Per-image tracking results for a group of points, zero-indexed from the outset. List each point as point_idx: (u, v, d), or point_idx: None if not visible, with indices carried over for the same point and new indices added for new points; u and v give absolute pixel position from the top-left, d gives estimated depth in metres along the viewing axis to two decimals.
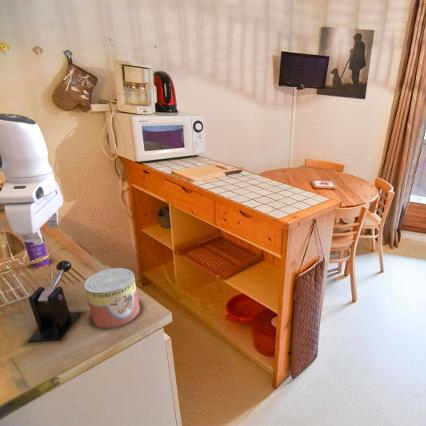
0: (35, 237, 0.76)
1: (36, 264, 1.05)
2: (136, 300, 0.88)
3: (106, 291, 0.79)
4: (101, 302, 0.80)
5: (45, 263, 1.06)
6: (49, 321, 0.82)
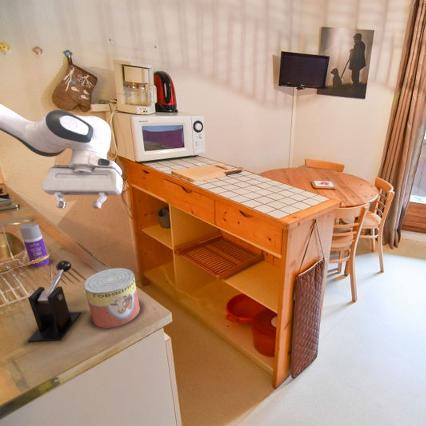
0: (102, 201, 0.94)
1: (36, 264, 1.05)
2: (136, 300, 0.88)
3: (106, 291, 0.79)
4: (101, 302, 0.80)
5: (45, 263, 1.06)
6: (49, 321, 0.82)
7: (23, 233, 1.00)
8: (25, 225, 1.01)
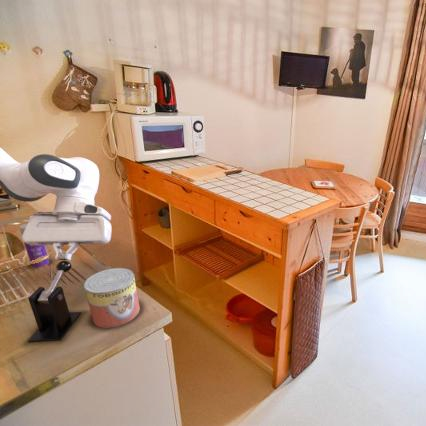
0: (72, 251, 0.86)
1: (36, 264, 1.05)
2: (136, 300, 0.88)
3: (106, 291, 0.79)
4: (101, 302, 0.80)
5: (45, 263, 1.06)
6: (49, 321, 0.82)
7: None
8: (25, 225, 1.01)
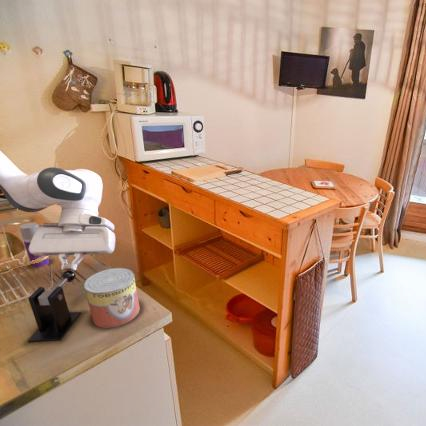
0: (77, 262, 0.88)
1: (36, 264, 1.05)
2: (136, 300, 0.88)
3: (106, 291, 0.79)
4: (101, 302, 0.80)
5: (45, 263, 1.06)
6: (49, 321, 0.82)
7: (23, 233, 1.00)
8: (25, 225, 1.01)
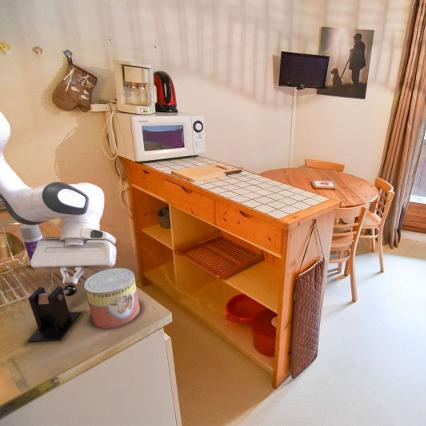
0: (78, 275, 0.89)
1: None
2: (136, 300, 0.88)
3: (106, 291, 0.79)
4: (101, 302, 0.80)
5: None
6: (49, 321, 0.82)
7: (23, 233, 1.00)
8: (25, 225, 1.01)
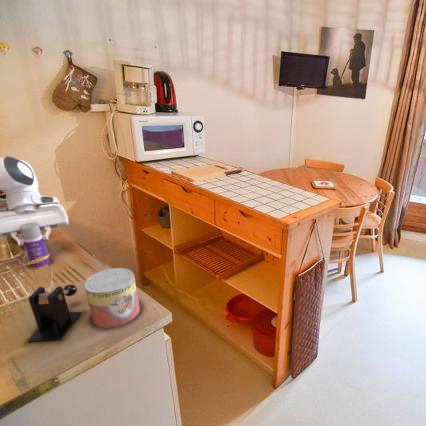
0: (48, 234, 1.06)
1: (36, 264, 1.05)
2: (136, 300, 0.88)
3: (106, 291, 0.79)
4: (101, 302, 0.80)
5: (45, 263, 1.06)
6: (49, 321, 0.82)
7: (23, 233, 1.00)
8: (25, 225, 1.01)
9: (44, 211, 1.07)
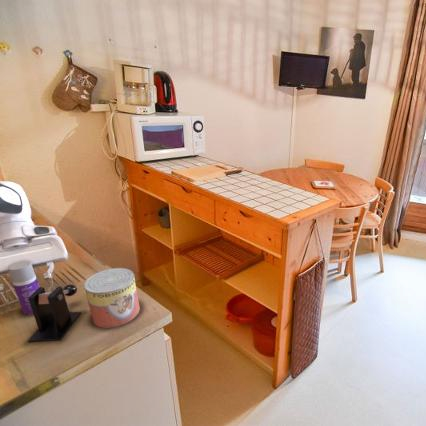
0: (51, 271, 0.88)
1: (29, 311, 0.85)
2: (136, 300, 0.88)
3: (106, 291, 0.79)
4: (101, 302, 0.80)
5: None
6: (49, 321, 0.82)
7: (12, 275, 0.81)
8: (15, 265, 0.82)
9: (38, 245, 0.87)
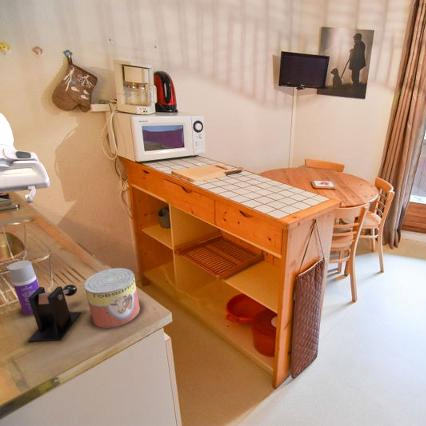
0: (33, 194, 0.90)
1: (29, 311, 0.85)
2: (136, 300, 0.88)
3: (106, 291, 0.79)
4: (101, 302, 0.80)
5: None
6: (49, 321, 0.82)
7: (12, 275, 0.81)
8: (15, 265, 0.82)
9: (19, 169, 0.89)
